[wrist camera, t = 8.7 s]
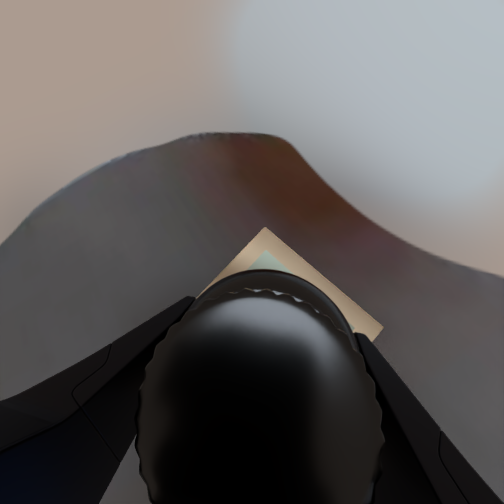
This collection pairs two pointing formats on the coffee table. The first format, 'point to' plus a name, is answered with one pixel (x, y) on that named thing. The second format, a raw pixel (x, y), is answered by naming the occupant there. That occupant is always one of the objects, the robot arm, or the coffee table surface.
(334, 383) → the supplement bottle
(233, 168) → the coffee table surface
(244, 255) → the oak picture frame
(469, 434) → the coffee table surface
